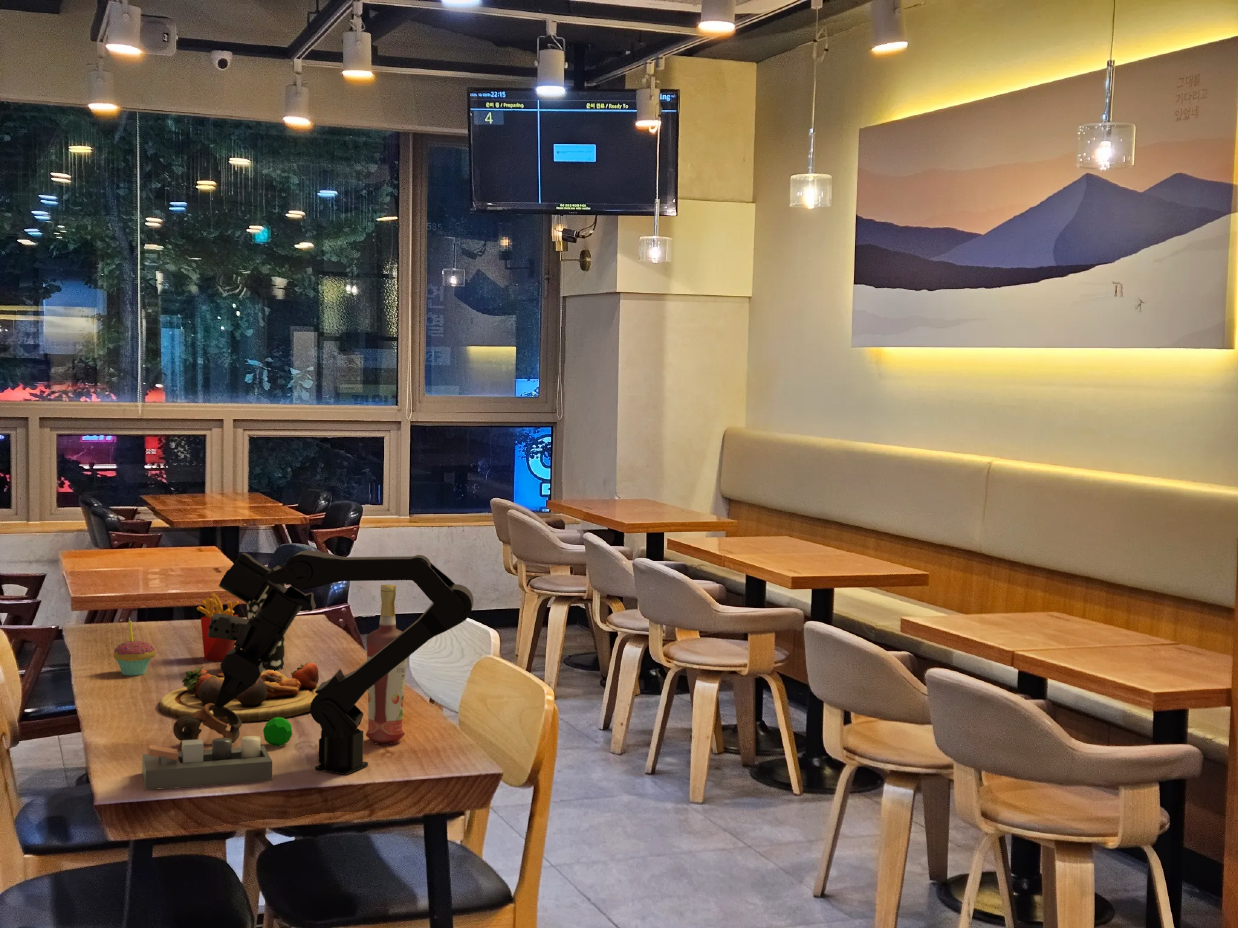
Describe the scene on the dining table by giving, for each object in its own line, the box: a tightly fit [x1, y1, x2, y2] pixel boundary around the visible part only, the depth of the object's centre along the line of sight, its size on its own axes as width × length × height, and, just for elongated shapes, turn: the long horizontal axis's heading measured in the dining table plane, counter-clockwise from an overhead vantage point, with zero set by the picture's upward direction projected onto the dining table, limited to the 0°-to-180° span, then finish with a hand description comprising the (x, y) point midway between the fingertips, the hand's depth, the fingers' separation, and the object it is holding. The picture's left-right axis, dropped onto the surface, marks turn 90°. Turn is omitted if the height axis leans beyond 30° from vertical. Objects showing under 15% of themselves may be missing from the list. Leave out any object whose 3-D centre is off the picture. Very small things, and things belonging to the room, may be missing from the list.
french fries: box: [196, 592, 240, 662], centre depth 304 cm, size 9×8×15 cm
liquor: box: [365, 584, 408, 746], centre depth 235 cm, size 7×7×28 cm
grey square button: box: [181, 738, 204, 763], centre depth 210 cm, size 3×3×3 cm
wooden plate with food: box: [159, 662, 320, 723], centre depth 262 cm, size 32×32×8 cm
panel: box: [141, 745, 273, 791], centre depth 211 cm, size 19×10×4 cm, turn 113°
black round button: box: [211, 737, 233, 761], centre depth 212 cm, size 3×3×3 cm
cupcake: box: [113, 617, 157, 677], centre depth 287 cm, size 9×8×12 cm
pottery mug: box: [172, 703, 243, 748], centre depth 229 cm, size 12×10×8 cm
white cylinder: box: [240, 735, 261, 758], centre depth 214 cm, size 3×3×3 cm
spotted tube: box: [246, 584, 287, 671], centre depth 296 cm, size 8×8×20 cm
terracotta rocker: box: [147, 744, 179, 760], centre depth 209 cm, size 4×3×1 cm, turn 112°
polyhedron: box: [262, 717, 293, 747], centre depth 231 cm, size 5×5×5 cm
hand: (222, 699), depth 217 cm, fingers open, 9 cm apart
